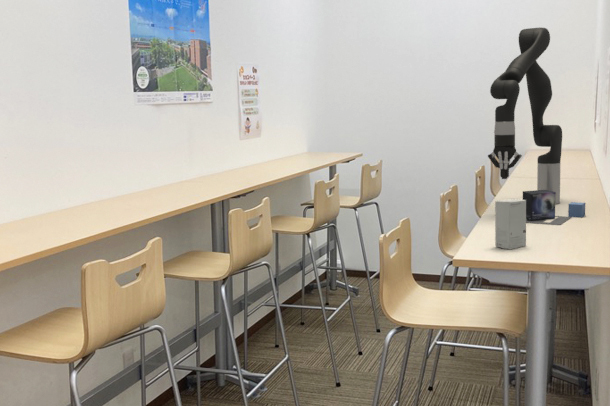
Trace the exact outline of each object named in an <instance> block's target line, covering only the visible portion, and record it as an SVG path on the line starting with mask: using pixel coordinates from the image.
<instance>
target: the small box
mask: <svg viewBox="0 0 610 406" xmlns="http://www.w3.org/2000/svg"><path fill="white" fill-rule="evenodd" d="M555 196H556V192H554V191H550V190H537V189H536V190H524V191H522V200H526V220H530V221H535V220H546V219H555V216H556V204H555Z"/></svg>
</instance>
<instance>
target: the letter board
mask: <svg viewBox="0 0 610 406" xmlns="http://www.w3.org/2000/svg"><path fill="white" fill-rule="evenodd" d="M572 218H573V217H568V216H563V215H561V216H560V215H555V219H546V220H535V221H530V220H526V224H536V225H551V226H561V225H563V224H564V223H566V222H567V221H569V220H570V219H572Z"/></svg>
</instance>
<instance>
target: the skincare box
mask: <svg viewBox="0 0 610 406" xmlns="http://www.w3.org/2000/svg"><path fill="white" fill-rule="evenodd" d="M494 205H495V207H494V208H495V212H494V213H495V214H494V216H495V220H494V221H495V223H494V224H495V228H494V229H495V233H494V235H495V236H494V240H495V245H494V246H495V247H496V248H500V249H501V248H502V249H505V250H512V249H517V248H520V247H526V246H527V223H526V200H523V199H521V198H520V199H519V198H517V199H516V198H509V199H508V198H507V199H499V200H495V204H494Z"/></svg>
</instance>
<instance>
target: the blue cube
mask: <svg viewBox="0 0 610 406" xmlns="http://www.w3.org/2000/svg"><path fill="white" fill-rule="evenodd" d="M567 209H568V211H567V212H568V213H567V214H568V216H567V217H572V218H581V219H582V218H584V217H586V202H578V201H577V202H573V201H572V202H570V203H568V208H567Z"/></svg>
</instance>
